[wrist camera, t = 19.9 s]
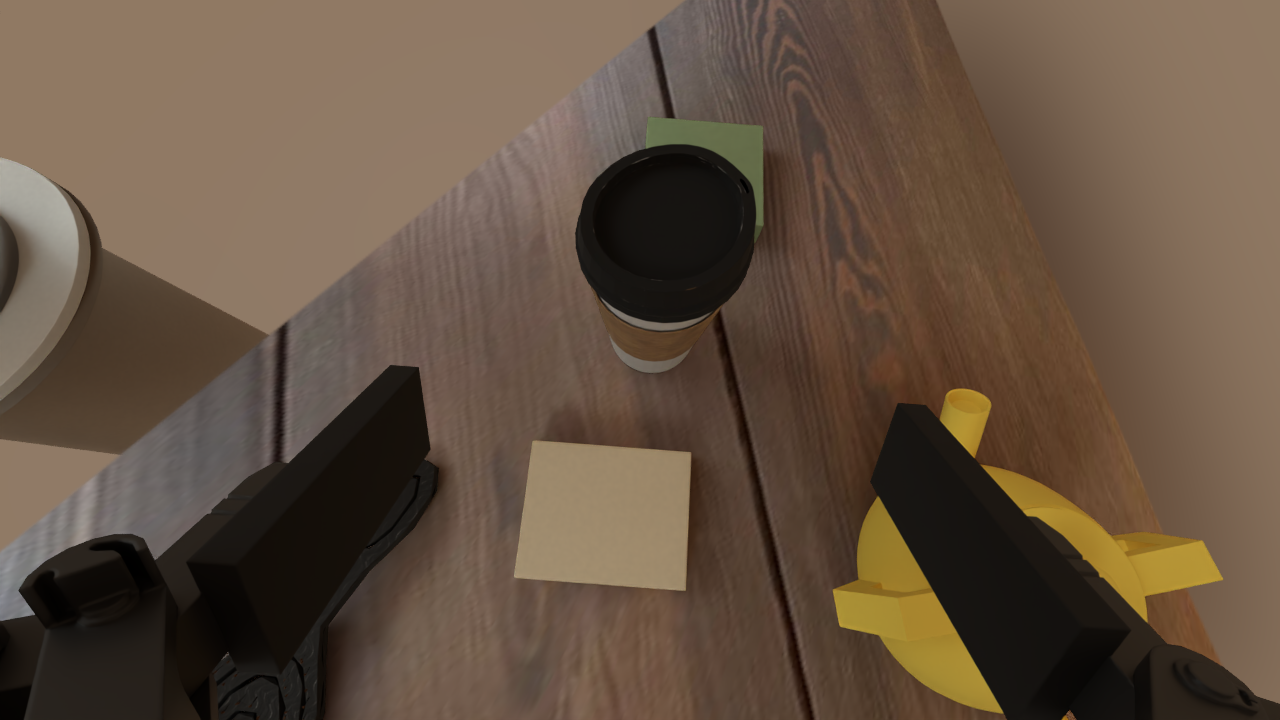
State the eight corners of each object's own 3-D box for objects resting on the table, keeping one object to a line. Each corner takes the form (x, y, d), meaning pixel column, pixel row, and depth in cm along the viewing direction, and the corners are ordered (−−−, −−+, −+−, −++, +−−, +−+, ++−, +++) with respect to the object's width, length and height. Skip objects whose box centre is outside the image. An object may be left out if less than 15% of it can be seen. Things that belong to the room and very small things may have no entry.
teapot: (762, 436, 34) (825, 398, 23) (1009, 397, 35) (1175, 343, 24) (846, 791, 28) (982, 958, 17) (1139, 727, 29) (1434, 845, 19)
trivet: (638, 234, 38) (639, 215, 36) (646, 138, 41) (647, 116, 39) (755, 243, 38) (764, 225, 36) (755, 147, 41) (763, 125, 39)
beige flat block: (520, 574, 31) (513, 578, 29) (537, 444, 33) (532, 439, 31) (682, 586, 31) (686, 591, 29) (687, 455, 33) (691, 452, 31)
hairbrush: (474, 492, 29) (119, 1016, 21) (488, 498, 33) (188, 951, 25) (362, 422, 31) (-16, 895, 22) (388, 435, 34) (68, 849, 26)
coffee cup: (729, 366, 35) (799, 261, 21) (616, 408, 34) (609, 327, 20) (683, 266, 38) (718, 110, 23) (576, 302, 36) (544, 161, 22)
